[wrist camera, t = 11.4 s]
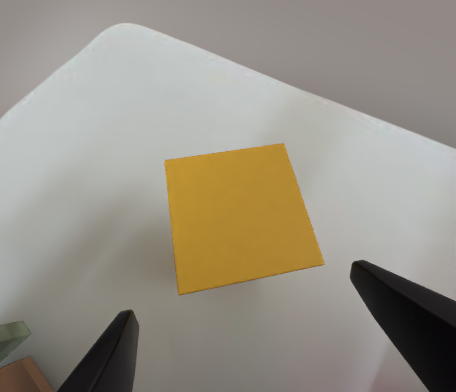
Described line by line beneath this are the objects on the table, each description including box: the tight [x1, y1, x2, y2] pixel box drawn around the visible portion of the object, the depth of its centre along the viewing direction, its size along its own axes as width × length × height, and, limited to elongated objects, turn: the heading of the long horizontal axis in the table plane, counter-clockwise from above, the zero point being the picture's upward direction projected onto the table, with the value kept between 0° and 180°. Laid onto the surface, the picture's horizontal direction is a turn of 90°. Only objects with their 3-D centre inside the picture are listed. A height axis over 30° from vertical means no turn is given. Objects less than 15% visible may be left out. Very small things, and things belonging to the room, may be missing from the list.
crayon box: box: [165, 143, 324, 295], centre depth 13 cm, size 5×5×12 cm
